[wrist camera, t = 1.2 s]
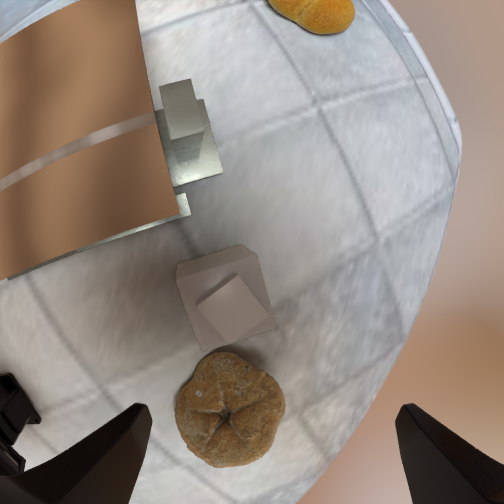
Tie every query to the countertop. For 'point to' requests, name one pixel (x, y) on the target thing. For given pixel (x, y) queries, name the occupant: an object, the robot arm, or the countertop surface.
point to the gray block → (224, 297)
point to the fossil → (229, 411)
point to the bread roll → (317, 14)
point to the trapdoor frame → (175, 151)
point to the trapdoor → (77, 135)
